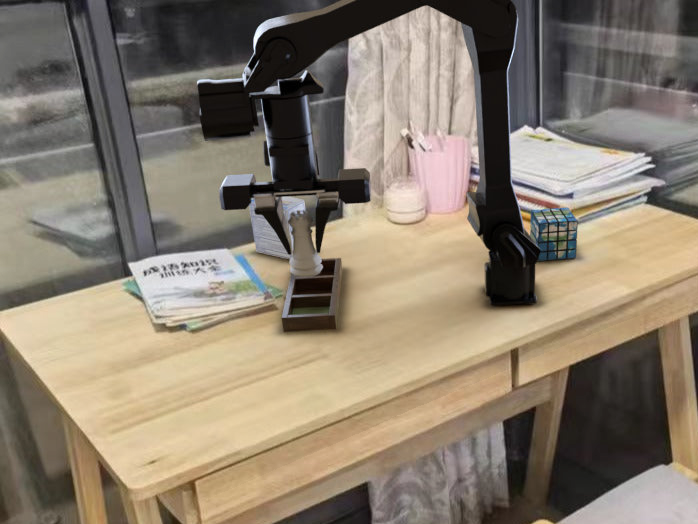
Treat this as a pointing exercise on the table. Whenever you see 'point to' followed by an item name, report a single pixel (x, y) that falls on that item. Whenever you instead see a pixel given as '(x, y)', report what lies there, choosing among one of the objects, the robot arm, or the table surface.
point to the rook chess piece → (303, 247)
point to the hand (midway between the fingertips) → (304, 252)
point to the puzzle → (554, 233)
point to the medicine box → (264, 232)
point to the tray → (314, 299)
